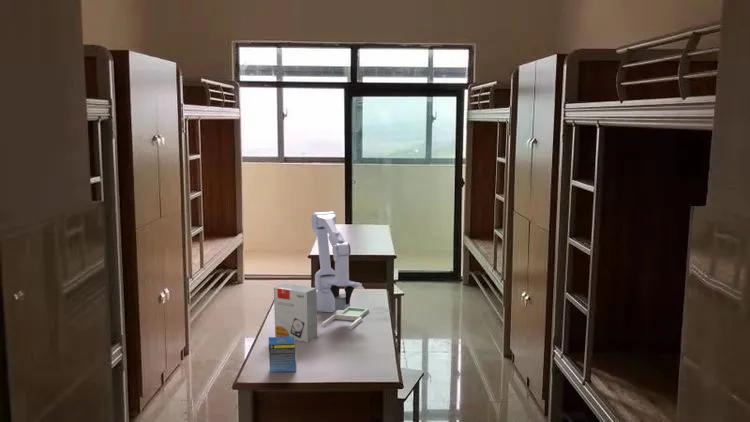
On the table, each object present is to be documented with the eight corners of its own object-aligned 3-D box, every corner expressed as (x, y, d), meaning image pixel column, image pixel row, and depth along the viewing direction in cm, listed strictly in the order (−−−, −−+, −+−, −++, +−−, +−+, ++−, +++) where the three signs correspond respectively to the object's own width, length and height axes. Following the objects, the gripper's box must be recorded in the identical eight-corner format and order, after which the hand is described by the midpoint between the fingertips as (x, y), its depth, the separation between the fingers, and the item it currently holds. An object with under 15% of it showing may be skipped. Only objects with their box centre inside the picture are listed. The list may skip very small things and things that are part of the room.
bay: (322, 326, 270) (322, 321, 270) (333, 318, 281) (333, 313, 281) (351, 329, 266) (351, 324, 266) (361, 320, 277) (361, 316, 277)
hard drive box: (274, 337, 258) (272, 287, 255) (285, 331, 265) (284, 283, 262) (307, 342, 251) (306, 291, 248) (318, 336, 257) (317, 287, 255)
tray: (337, 317, 282) (337, 314, 282) (347, 310, 293) (347, 306, 293) (359, 319, 279) (359, 316, 278) (368, 311, 290) (368, 308, 290)
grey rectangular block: (334, 309, 271) (334, 297, 270) (341, 304, 277) (341, 293, 277) (343, 310, 270) (343, 298, 269) (350, 305, 276) (349, 294, 275)
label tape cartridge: (297, 367, 225) (295, 332, 224) (296, 371, 221) (294, 336, 220) (270, 368, 225) (269, 333, 223) (269, 372, 221) (268, 337, 219)
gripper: (321, 272, 270) (322, 304, 272) (354, 274, 266) (355, 307, 267) (328, 268, 277) (329, 300, 279) (360, 271, 272) (361, 302, 274)
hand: (342, 303), depth 273 cm, fingers closed on grey rectangular block, 4 cm apart
